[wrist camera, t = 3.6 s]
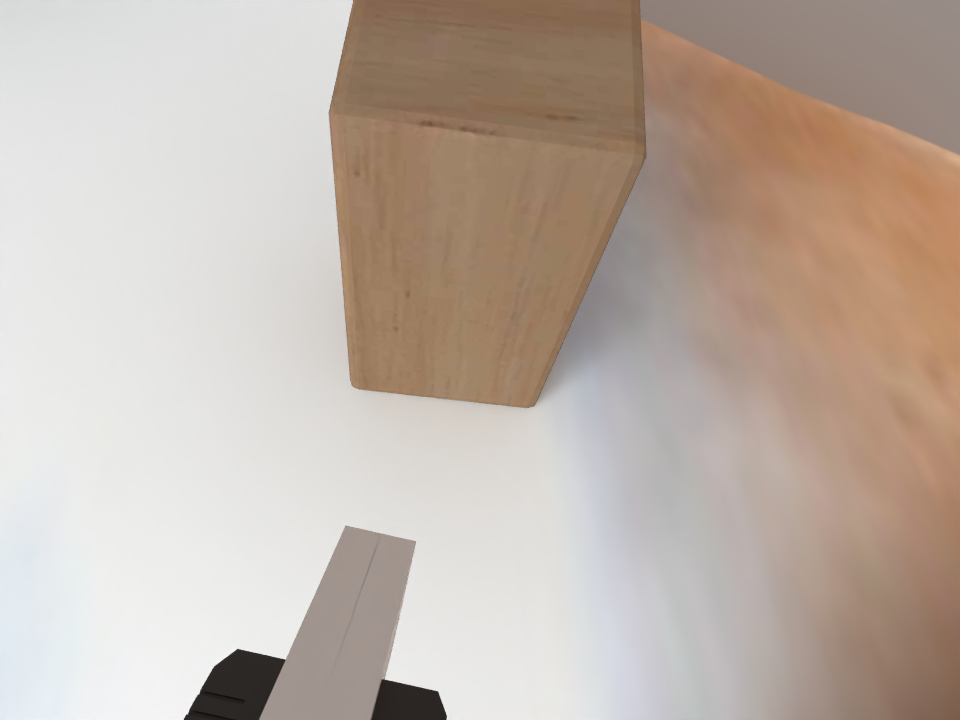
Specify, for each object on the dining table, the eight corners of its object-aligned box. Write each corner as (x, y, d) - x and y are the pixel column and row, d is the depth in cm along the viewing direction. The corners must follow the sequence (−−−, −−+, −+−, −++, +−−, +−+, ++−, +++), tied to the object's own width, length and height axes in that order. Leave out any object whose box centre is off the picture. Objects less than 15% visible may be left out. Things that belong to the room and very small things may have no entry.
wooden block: (374, 238, 45) (370, -92, 27) (541, 259, 46) (642, -50, 28) (349, 391, 40) (325, 112, 23) (535, 412, 41) (651, 157, 23)
